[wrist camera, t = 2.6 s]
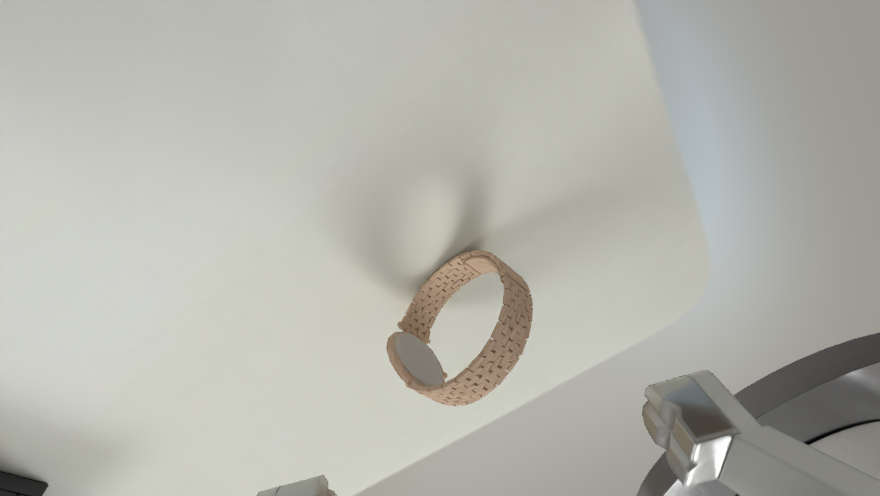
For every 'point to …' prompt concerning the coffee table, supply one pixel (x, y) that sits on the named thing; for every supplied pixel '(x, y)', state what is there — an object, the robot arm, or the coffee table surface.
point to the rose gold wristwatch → (478, 381)
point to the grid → (20, 486)
